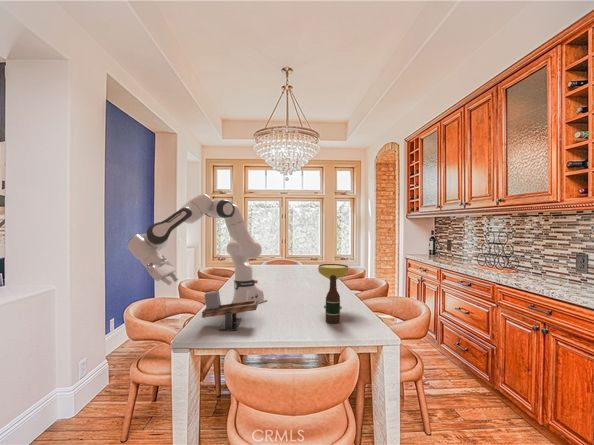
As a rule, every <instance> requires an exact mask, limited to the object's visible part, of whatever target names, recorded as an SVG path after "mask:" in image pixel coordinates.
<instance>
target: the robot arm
mask: <svg viewBox="0 0 594 445" xmlns="http://www.w3.org/2000/svg"><path fill="white" fill-rule="evenodd" d="M204 216H207V217H210V218H214V219H224V222H225V225H226V228H227V231H228V234H229V236H230V238H232V239H234V240H231V241H229V242H228V244H227V246H226V252H227V254H228V255H229V257H230V258H231V260H232V262H233V266H234V267H233V268H234V279H233V288H234V290H233V291H234V292H233V296H232V301H231V304H232V303H239V302H246V301H252V300H257V301H258V304H261V303H265V302H267V301H268V298H267V297H266V296H265V293H264V291H263V290H262V289H261V288H260V287H258V286H257V285H256V284H258V281H259V280H257V279H253V271H254V270H253V267H252V265H251V264H250V263H249V261H248V259H257V258H259V257H260V256H261V254H262V250H263V249H262V245H261V244H260V243H259V242H258V241H256V240H255V239H254V237H253V236H252V235H251V233H250V232H249V231H248V230H249V229H248V228H247V225H246V222H245V219H244V217H243V214H242V211H241V210H240V208H239V206H238V205H237V204H234V203H233V202H232V201H230V200H229V199H224V198H223V199H222V198H211V197H210V196H209V195H207V194H206V193H201V194H198V195H197V196H195V197H192V199H190V200H189V201H188V202H186V203H185V204H184V205H182V206H181V207H180V209H178V210H177V211H175V212H174V213H173V214H171V215H169V216H168V217H167V218H165V219H164V220H162V221H159V222H156V223H155V222H154V223H153V224H151V225H150V226H148V228H147V229H146V233H142V234H138V233H137V234H134V235H133V236H132V237H131V238H130V239H129V240H128V242H127V244H126V245H127V249H128V250H129V252H130V253H131V254H132V255H133V257H134V258H136V259H137V260H138V261H140V262H141V265H143V266H144V267H145V269H146V270H147V273H148V274H149V276H151V278H152V279H153V280H154V281H156V282H159V281H161V282H164V283H166V285H167V286H170V285H171V284H173V282H174V283H176V282H178V281H179V278H178V277H177V275H176V273H175V272H176V271H177V270H176V268H175V266H174V265H173V264H172V263H171V262H170V261H169V260H167V259H168V258H167V256H165V255H164V254H163V255H162V254H160V253H159V251H161V250H163V249H164V248H165V247H166V246H167V243H168V238H169V237H170V234H171V233H172V232H173V231H175V229H177V228H179V226H181V225H182V224H184V223H186V224H194V223H195V222H197V221H199V220H200V219H201V218H203V217H204ZM168 277H170V278H171V279H172V281H171V280H170V279H168Z"/></svg>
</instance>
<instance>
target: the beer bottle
mask: <svg viewBox="0 0 594 445" xmlns="http://www.w3.org/2000/svg"><path fill="white" fill-rule="evenodd" d="M336 278H337V277H336V275H330V279H329V288H328V292H327V293H326V296H325V305H326V308H325V322H326V323H327V324H339V323H340V320H341V309H340V306H341V296H340V293H339V292H338V289H337V280H336Z"/></svg>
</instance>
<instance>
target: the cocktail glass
mask: <svg viewBox="0 0 594 445" xmlns="http://www.w3.org/2000/svg"><path fill="white" fill-rule="evenodd" d="M317 270H318V273H319V274H320V275H322V276H323V277H325V278H327V279H328V280H330V275H336V277H337V278H336V281H337V280H339V279H340V278H343V277H344V276H345V277H346V275H347V274H348V273H349V266H348V265H346V264H341V263H340V264H339V263H324V264H323V263H322V264H319V265H318V267H317ZM342 307H343V306H341V305H340V310H341V309H342ZM323 308H325V309H326V304H325V305H323Z"/></svg>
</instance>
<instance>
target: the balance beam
mask: <svg viewBox="0 0 594 445" xmlns="http://www.w3.org/2000/svg"><path fill="white" fill-rule="evenodd" d="M258 305H259V303H258V301H257V300H252V301H246V302H239V303H232V302H231V303H225V304H221V309H217V310H210V311H207V309H206V307H205V308H204V309H203V311H202V312H201V317H202V319H206V318H211V317H216V316H217V317H218V316H225V313H226V312H232V314H233V313H237V314H239V313H245V312H253V311H257V308H258Z"/></svg>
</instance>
